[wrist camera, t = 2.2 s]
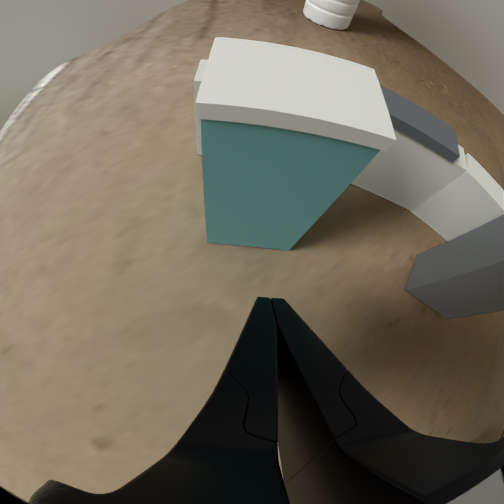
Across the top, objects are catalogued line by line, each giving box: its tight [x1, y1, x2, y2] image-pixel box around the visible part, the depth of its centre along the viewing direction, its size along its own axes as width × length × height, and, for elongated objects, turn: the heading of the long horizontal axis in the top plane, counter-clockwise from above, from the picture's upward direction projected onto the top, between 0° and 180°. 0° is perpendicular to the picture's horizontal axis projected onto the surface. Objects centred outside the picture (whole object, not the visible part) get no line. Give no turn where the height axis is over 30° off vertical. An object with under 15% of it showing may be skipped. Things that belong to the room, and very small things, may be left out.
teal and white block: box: [195, 37, 396, 250], centre depth 12 cm, size 3×5×12 cm, turn 86°
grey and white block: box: [406, 214, 504, 319], centre depth 13 cm, size 3×5×12 cm, turn 60°
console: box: [194, 60, 504, 241], centre depth 16 cm, size 26×4×8 cm, turn 73°
